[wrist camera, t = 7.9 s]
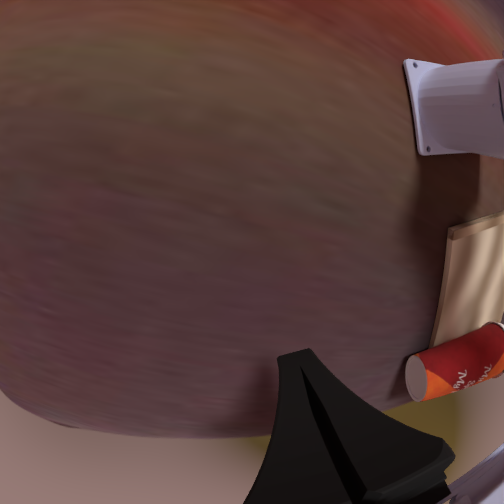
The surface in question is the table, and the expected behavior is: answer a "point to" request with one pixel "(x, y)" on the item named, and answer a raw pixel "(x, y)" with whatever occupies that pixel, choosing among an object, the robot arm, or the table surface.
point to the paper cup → (456, 363)
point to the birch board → (471, 279)
